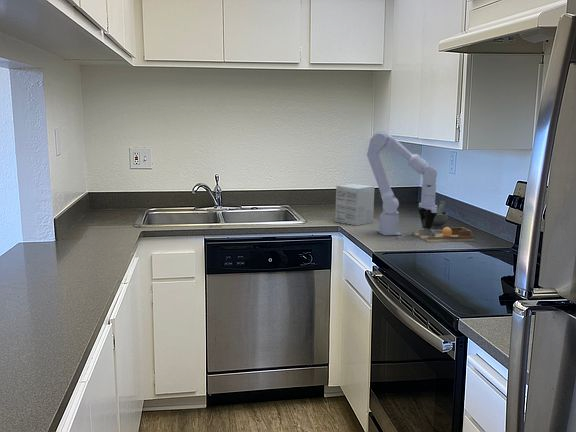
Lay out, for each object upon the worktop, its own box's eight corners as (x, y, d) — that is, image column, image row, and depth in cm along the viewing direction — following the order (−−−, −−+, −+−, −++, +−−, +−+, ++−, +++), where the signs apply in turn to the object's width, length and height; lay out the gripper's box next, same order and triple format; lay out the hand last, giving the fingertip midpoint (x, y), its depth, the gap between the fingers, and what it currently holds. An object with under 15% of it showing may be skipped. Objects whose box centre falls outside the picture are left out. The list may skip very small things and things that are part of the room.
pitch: (413, 234, 250) (413, 224, 249) (456, 233, 254) (456, 224, 253) (428, 242, 235) (428, 232, 234) (473, 241, 238) (474, 231, 237)
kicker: (420, 232, 248) (421, 218, 247) (428, 232, 248) (429, 218, 247) (429, 237, 239) (430, 222, 238) (437, 236, 239) (438, 222, 238)
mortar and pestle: (441, 230, 258) (442, 204, 256) (422, 227, 264) (423, 201, 262) (452, 227, 267) (453, 201, 265) (433, 224, 273) (435, 199, 271)
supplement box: (351, 218, 284) (353, 183, 281) (373, 222, 275) (375, 186, 272) (334, 221, 275) (335, 185, 272) (356, 226, 266) (357, 188, 263)
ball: (440, 235, 243) (440, 226, 242) (448, 235, 244) (449, 226, 243) (444, 237, 239) (444, 228, 239) (453, 237, 240) (453, 227, 239)
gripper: (444, 197, 237) (442, 230, 239) (430, 192, 251) (428, 223, 253) (428, 197, 236) (426, 230, 238) (414, 192, 250) (413, 223, 252)
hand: (426, 226), depth 246 cm, fingers closed on kicker, 3 cm apart
